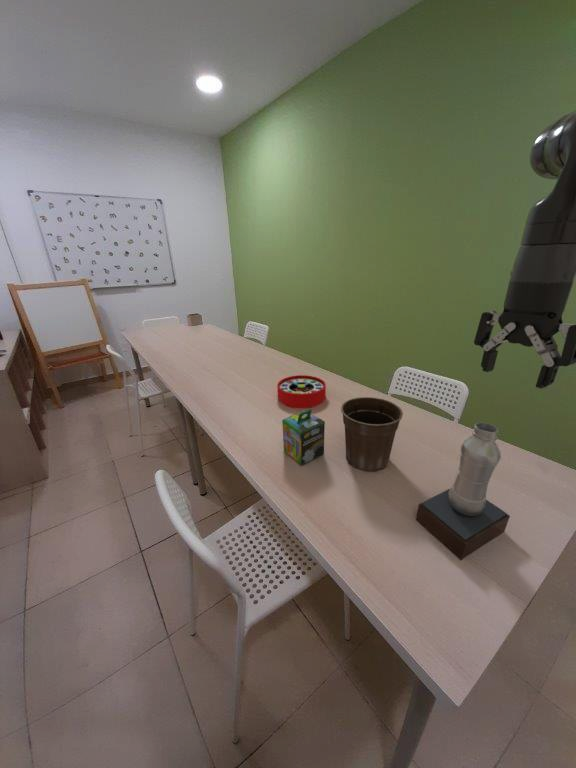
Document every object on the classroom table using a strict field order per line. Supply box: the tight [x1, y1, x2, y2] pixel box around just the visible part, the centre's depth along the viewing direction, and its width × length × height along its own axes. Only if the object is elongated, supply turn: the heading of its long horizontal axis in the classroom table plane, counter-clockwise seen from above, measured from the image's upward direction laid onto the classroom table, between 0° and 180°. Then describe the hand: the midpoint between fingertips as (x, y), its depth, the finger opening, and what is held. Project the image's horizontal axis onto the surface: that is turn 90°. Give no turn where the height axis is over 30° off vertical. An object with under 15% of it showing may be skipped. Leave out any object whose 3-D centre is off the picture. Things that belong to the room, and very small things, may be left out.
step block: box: [415, 488, 511, 561], centre depth 64 cm, size 14×11×5 cm
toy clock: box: [277, 374, 327, 409], centre depth 125 cm, size 20×6×20 cm
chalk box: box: [281, 408, 326, 466], centre depth 88 cm, size 9×9×15 cm
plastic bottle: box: [449, 422, 502, 516], centre depth 59 cm, size 6×7×20 cm
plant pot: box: [340, 396, 404, 472], centre depth 85 cm, size 16×16×16 cm
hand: (512, 378), depth 51 cm, fingers open, 8 cm apart
